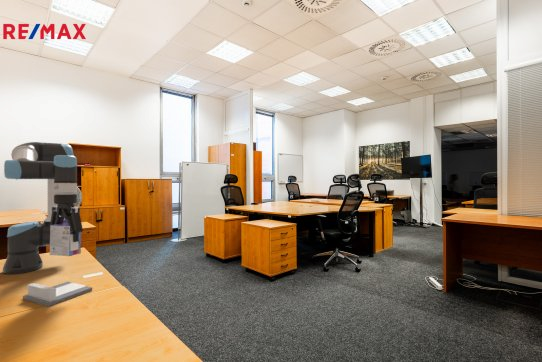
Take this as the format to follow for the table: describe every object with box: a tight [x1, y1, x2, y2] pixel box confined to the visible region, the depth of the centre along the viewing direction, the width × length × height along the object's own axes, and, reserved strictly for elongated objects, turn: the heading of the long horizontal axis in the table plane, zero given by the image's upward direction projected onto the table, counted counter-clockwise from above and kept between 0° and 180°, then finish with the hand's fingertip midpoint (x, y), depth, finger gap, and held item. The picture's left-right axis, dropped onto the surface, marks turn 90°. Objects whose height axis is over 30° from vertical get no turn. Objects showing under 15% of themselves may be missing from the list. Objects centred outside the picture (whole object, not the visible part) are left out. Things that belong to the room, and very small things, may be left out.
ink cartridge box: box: [49, 219, 82, 257], centre depth 112 cm, size 10×6×14 cm, turn 78°
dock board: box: [22, 281, 93, 307], centre depth 110 cm, size 16×16×5 cm
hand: (65, 248), depth 112 cm, fingers closed on ink cartridge box, 10 cm apart
